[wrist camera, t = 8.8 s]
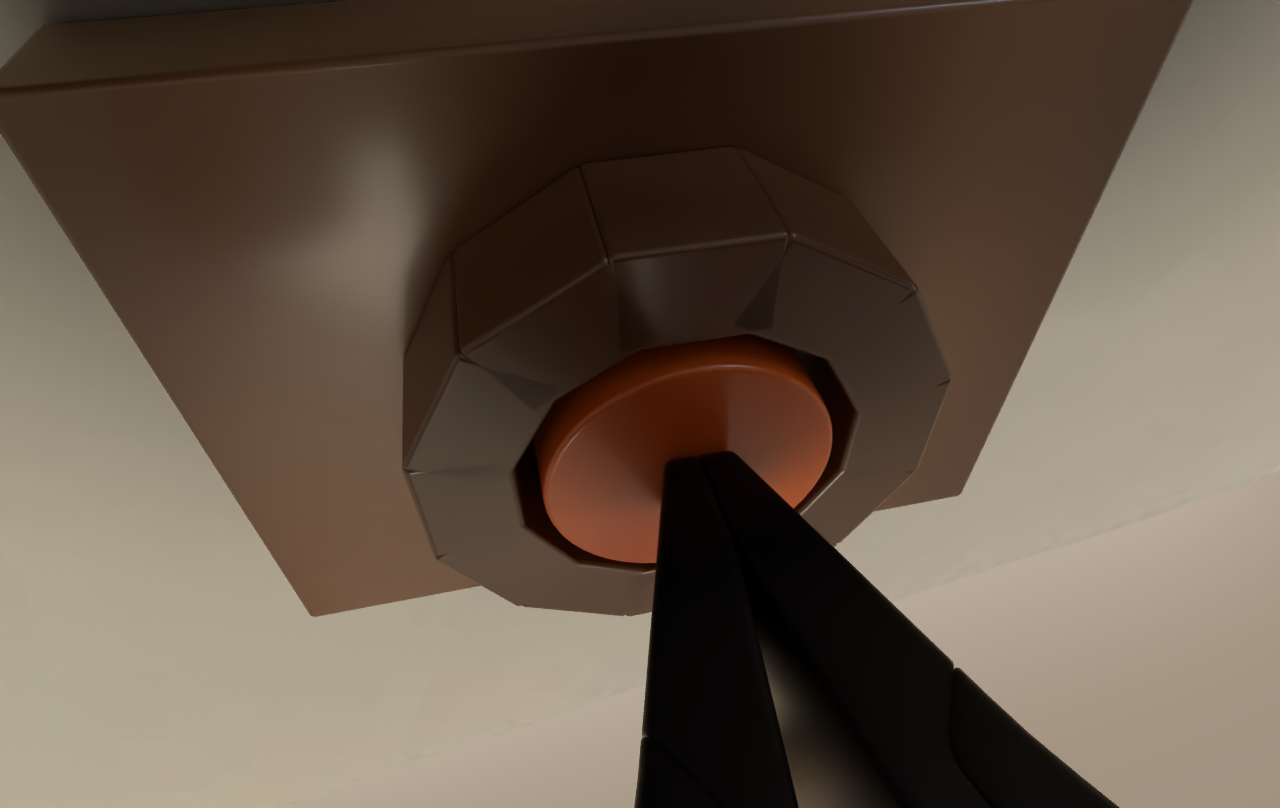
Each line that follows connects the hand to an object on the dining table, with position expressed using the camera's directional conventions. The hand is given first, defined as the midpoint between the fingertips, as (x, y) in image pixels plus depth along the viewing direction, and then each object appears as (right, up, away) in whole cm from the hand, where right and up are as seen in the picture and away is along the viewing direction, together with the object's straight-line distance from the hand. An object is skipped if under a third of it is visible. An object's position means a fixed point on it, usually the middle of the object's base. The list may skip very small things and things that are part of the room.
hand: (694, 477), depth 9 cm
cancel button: (0, +1, +1) cm, 2 cm away
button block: (-1, +3, +3) cm, 4 cm away
